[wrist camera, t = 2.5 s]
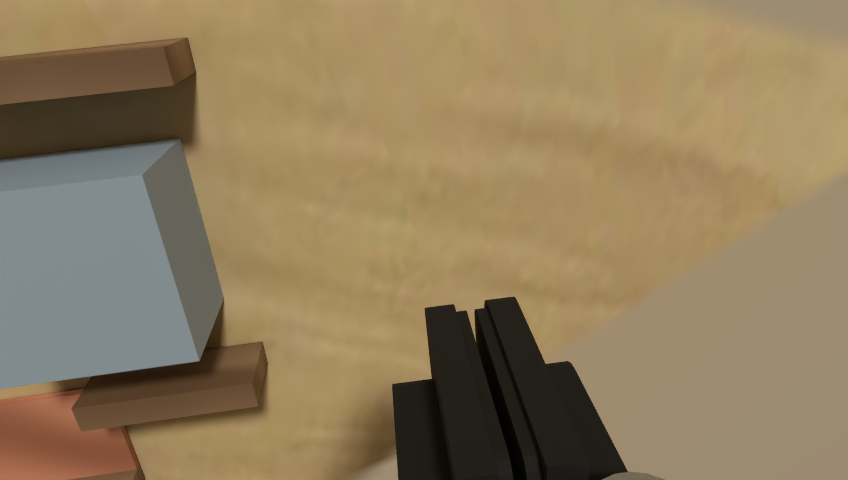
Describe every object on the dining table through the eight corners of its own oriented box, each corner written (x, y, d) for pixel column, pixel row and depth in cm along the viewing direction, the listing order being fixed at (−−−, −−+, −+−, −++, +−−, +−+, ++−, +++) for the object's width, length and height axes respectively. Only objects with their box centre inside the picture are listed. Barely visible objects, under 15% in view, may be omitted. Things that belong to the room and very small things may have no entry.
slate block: (225, 296, 22) (199, 361, 18) (57, 318, 21) (-4, 389, 18) (181, 136, 19) (142, 175, 16) (-10, 158, 19) (-97, 203, 15)
